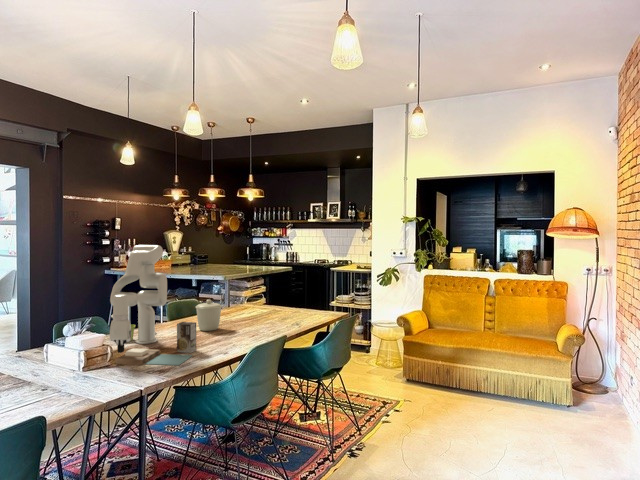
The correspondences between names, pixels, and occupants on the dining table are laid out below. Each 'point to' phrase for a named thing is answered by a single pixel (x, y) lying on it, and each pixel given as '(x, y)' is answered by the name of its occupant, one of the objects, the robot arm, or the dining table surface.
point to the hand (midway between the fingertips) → (120, 352)
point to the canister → (208, 315)
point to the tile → (136, 352)
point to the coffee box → (186, 337)
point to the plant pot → (132, 331)
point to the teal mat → (169, 359)
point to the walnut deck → (138, 358)
